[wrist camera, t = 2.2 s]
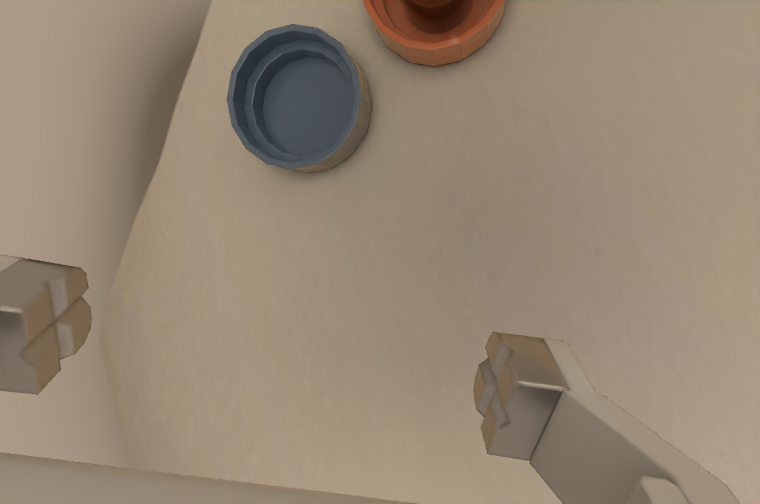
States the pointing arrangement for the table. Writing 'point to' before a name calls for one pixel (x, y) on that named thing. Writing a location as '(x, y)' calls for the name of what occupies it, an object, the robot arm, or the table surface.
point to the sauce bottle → (436, 13)
